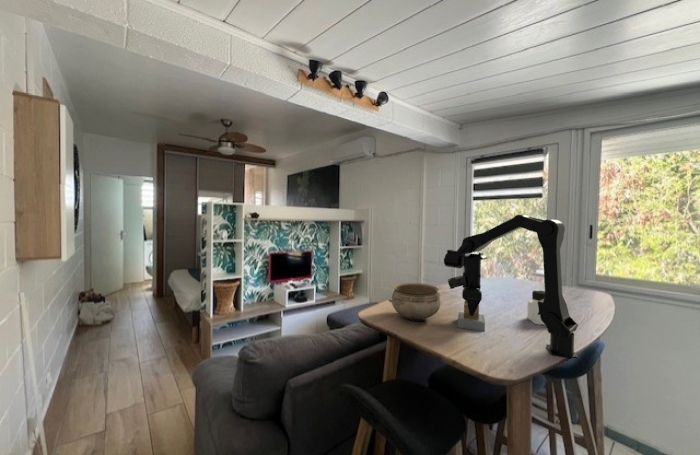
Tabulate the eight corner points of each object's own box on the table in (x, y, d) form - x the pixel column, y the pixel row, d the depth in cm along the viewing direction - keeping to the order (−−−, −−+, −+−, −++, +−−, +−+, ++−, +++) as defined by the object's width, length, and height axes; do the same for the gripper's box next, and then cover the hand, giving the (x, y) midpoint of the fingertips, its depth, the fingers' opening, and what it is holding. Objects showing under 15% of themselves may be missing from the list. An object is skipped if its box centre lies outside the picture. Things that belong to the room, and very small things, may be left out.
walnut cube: (478, 319, 104) (479, 306, 104) (463, 317, 106) (464, 304, 106) (478, 315, 109) (478, 302, 109) (464, 313, 111) (464, 300, 111)
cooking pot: (404, 332, 101) (405, 297, 100) (375, 315, 118) (376, 285, 117) (456, 320, 112) (457, 289, 112) (423, 307, 129) (423, 280, 129)
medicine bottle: (555, 325, 108) (556, 294, 107) (534, 324, 109) (535, 292, 109) (546, 319, 115) (547, 289, 114) (526, 317, 116) (527, 288, 116)
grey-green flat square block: (484, 331, 102) (484, 322, 102) (457, 327, 105) (457, 318, 105) (483, 322, 110) (483, 314, 110) (458, 319, 114) (458, 311, 114)
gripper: (450, 265, 119) (450, 302, 119) (447, 272, 102) (446, 316, 102) (480, 267, 115) (479, 305, 115) (482, 275, 97) (481, 321, 98)
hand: (471, 311), depth 108 cm, fingers open, 9 cm apart
